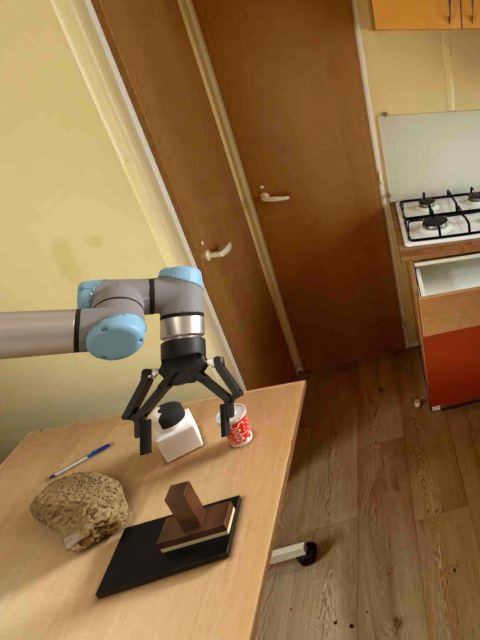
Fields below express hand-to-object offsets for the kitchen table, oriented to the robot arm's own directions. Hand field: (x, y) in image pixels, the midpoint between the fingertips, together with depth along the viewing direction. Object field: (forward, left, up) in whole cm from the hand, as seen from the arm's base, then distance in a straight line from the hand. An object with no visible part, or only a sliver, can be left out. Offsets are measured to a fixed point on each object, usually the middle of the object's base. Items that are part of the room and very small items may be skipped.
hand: (186, 445), depth 84 cm
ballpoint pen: (-30, +19, -15) cm, 39 cm away
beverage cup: (+4, +13, -15) cm, 20 cm away
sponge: (-23, +2, -15) cm, 27 cm away
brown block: (+1, -10, -13) cm, 17 cm away
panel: (-3, -10, -15) cm, 18 cm away
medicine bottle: (-9, +16, -15) cm, 24 cm away
